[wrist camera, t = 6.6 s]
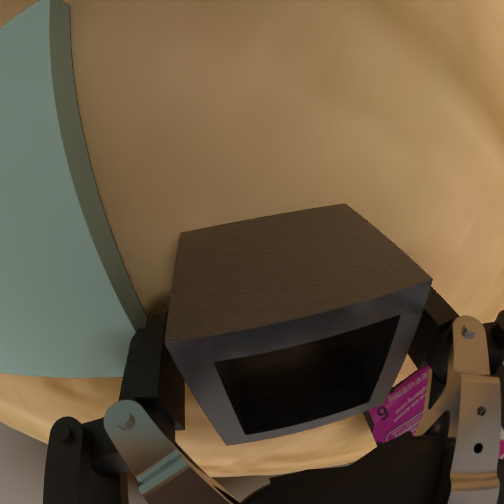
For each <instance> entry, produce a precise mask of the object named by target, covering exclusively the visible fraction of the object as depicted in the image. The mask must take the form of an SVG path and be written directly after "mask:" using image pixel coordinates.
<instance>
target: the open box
mask: <svg viewBox="0 0 504 504" xmlns="http://www.w3.org/2000/svg"><path fill="white" fill-rule="evenodd" d="M432 280H433V279H432V278H431V277H430V276H429V275H428V274H427V273H426V272H425V271H424V270H423V269H422V268H421V267H419V266H418V265H417V264H416V263H415V262H414V261H413V260H412V259H411V258H410V257H409V256H408V255H406V254H405V253H404V252H403V251H402V250H401V249H400V248H399V247H397V246H396V245H395V244H394V243H393V242H392V241H391V240H389V239H388V238H387V237H386V236H385V235H384V234H382V233H381V232H380V231H379V230H378V229H376V228H375V227H374V226H373V225H372V224H370V223H369V222H368V221H367V220H365V219H364V218H363V217H362V216H361V215H359V214H358V213H357V212H356V211H354V210H353V209H352V208H350V207H349V206H348V205H347V204H340V205H334V206H327V207H321V208H315V209H309V210H303V211H297V212H291V213H285V214H279V215H273V216H268V217H262V218H256V219H251V220H245V221H240V222H235V223H229V224H224V225H219V226H214V227H209V228H204V229H199V230H194V231H189V232H184V233H181V236H180V241H179V246H178V252H177V258H176V263H175V269H174V276H173V282H172V288H171V295H170V302H169V310H168V317H167V325H166V333H165V342H164V343H165V345H166V347H167V349H168V351H169V352H170V354H171V356H172V358H173V360H174V362H175V364H176V365H177V367H178V369H179V371H180V373H181V374H182V376H183V378H184V380H185V381H186V383H187V385H188V387H189V388H190V390H191V392H192V393H193V395H194V397H195V398H196V400H197V402H198V403H199V405H200V406H201V408H202V410H203V411H204V413H205V414H206V416H207V417H208V419H209V420H210V422H211V423H212V425H213V426H214V428H215V429H216V431H217V432H218V434H219V435H220V437H221V438H222V440H223V441H224V443H225V444H226V445H234V444H241V443H248V442H254V441H260V440H265V439H270V438H275V437H280V436H284V435H289V434H293V433H297V432H301V431H305V430H309V429H312V428H316V427H319V426H323V425H326V424H329V423H333V422H336V421H339V420H342V419H345V418H348V417H351V416H354V415H356V414H359V413H362V412H364V411H367V410H370V409H372V408H375V407H377V406H380V405H382V404H383V403H384V402H385V400H386V398H387V396H388V394H389V392H390V390H391V388H392V386H393V384H394V382H395V380H396V378H397V375H398V373H399V371H400V369H401V367H402V364H403V362H404V360H405V357H406V355H407V353H408V350H409V348H410V345H411V343H412V340H413V338H414V335H415V332H416V330H417V327H418V324H419V321H420V319H421V316H422V313H423V310H424V307H425V304H426V300H427V297H428V294H429V291H430V287H431V284H432Z"/></svg>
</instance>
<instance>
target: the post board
mask: <svg viewBox="0 0 504 504" xmlns="http://www.w3.org/2000/svg"><path fill="white" fill-rule="evenodd" d="M146 321H147V317H146V314H145V312H144V310H143V308H142V306H141V304H140V302H139V299H138V297H137V295H136V293H135V291H134V288H133V286H132V284H131V281H130V279H129V277H128V274H127V272H126V269H125V267H124V265H123V262H122V260H121V257H120V254H119V252H118V249H117V247H116V244H115V241H114V238H113V236H112V233H111V230H110V227H109V224H108V221H107V219H106V216H105V213H104V209H103V206H102V203H101V200H100V197H99V193H98V190H97V187H96V183H95V180H94V176H93V172H92V169H91V165H90V161H89V157H88V153H87V149H86V144H85V140H84V135H83V130H82V126H81V120H80V115H79V109H78V104H77V97H76V91H75V83H74V75H73V66H72V55H71V41H70V5H69V4H67V3H65V2H64V1H62V0H39V1H38V2H36V3H34V4H33V5H31V6H30V7H28V8H27V9H25V10H24V11H22V12H21V13H19V14H18V15H17V16H15V17H14V18H12V19H11V20H10V21H8V22H7V23H6V24H4V25H3V26H2V27H1V28H0V373H5V374H14V375H25V376H39V377H62V378H102V377H123V375H124V369H125V364H126V363H127V362H126V359H127V355H128V354H129V352H128V350H129V345H130V341H131V339H132V337H133V336H134V334H135V333H136V331H137V330H138V329H141V328H145V326H146Z"/></svg>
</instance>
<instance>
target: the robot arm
mask: <svg viewBox="0 0 504 504" xmlns="http://www.w3.org/2000/svg"><path fill="white" fill-rule="evenodd" d="M167 317H168V310H166V311H160V312H153V313H149V314H148V316H147V321H146V326H145V328H141V329H138V330H137V331H136V333H135V334H134V336H133V337H132V339H131V341H130V345H129V350H128V352H129V354H128V355H127V359H126V362H127V363H126V364H125V369H124V375H123V380H122V385H121V391H120V397H119V401H118V402H116V403H114V404H113V405H112V406H111V407H110V408H109V409H108V410H107V412H106V414H105V416H104V417H103V418H101V419H97V420H94V421H91V422H87V423H83V424H81V423H80V422H79V421H78V420H76V419H75V418H73V417H69V416H68V417H63V418H60V419H59V420H57V421H56V422H55V423H54V425H53V426H52V429H51V432H50V437H49V443H48V451H47V458H46V467H45V477H44V491H43V492H44V494H43V504H129V503H128V483H127V472H129V471H132V472H133V474H134V475H135V477H136V478H137V479H138V482H139V484H138V489H139V491H140V493H141V494H142V496H143V497H144V498H145V500H146V501H147V502H148V503H149V504H504V460H503V459H500V458H498V456H499V446H500V432H501V426H502V428H503V430H504V365H503V362H504V310H502V311H501V312H499V314H498V316H497V318H496V320H495V322H490V323H484V324H481V322H480V321H479V320H477V319H476V318H474V317H471V316H466V315H465V316H459V315H458V314H457V313H456V312H455V311H454V310H453V309H452V308H451V306H450V305H449V304H448V303H447V302H446V301H445V300H444V299H443V298H442V297H441V296H440V295H439V294H438V293H436V291H435V290H434V289H433V288H432V287H430V291H429V294H428V297H427V300H426V304H425V307H424V310H423V313H422V316H421V319H420V321H419V324H418V327H417V330H416V332H415V335H414V338H413V340H412V343H411V345H410V348H409V350H408V355H409V356H410V358H411V359H412V361H413V362H414V364H415V365H416V367H417V368H418V370H419V369H421V368H423V367H425V366H427V365H429V367H430V368H431V369H430V371H429V374H428V382H427V390H426V398H425V405H424V411H423V415H422V418H421V420H420V422H419V424H418V427H417V429H416V432H415V436H413V434H412V432H411V430H410V431H408V432H406V433H404V434H402V435H400V436H398V437H396V438H394V439H392V440H389V441H387V442H385V443H383V444H380V445H379V446H378V447H376V448H375V449H373V450H372V451H371V452H369V453H368V454H366V455H365V456H363V457H362V458H360V459H359V460H357V461H356V462H354V463H353V464H351V465H349V466H345V467H337V468H325V469H308V470H304V471H300V472H296V473H291V474H287V475H282V476H277V477H272V478H270V484H268V485H266V486H263V487H262V488H260V489H258V490H256V491H254V492H253V493H251V494H250V495H248V496H247V497H246V498H245V499H244V500H242V501H241V502H239V501H238V500H237V499H236V498H235V497H233V496H232V495H231V494H230V493H228V492H227V491H226V490H225V489H224V488H223V487H221V486H220V485H219V484H218V483H217V482H216V481H214V480H213V479H212V478H211V477H210V476H209V475H208V474H207V473H205V472H204V471H203V470H202V469H201V468H200V467H199V466H198V465H197V464H196V463H195V462H194V461H193V460H192V459H191V458H190V457H189V456H188V454H187V453H186V452H185V451H184V450H183V449H182V448H181V447H180V446H179V445H178V444H177V443H176V441H175V431H176V430H185V380H184V378H183V376H182V374H181V373H180V371H179V369H178V367H177V365H176V364H175V362H174V360H173V358H172V356H171V354H170V352H169V351H168V349H167V347H166V345H165V343H164V342H165V333H166V325H167Z"/></svg>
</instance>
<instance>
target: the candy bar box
mask: <svg viewBox="0 0 504 504" xmlns="http://www.w3.org/2000/svg"><path fill="white" fill-rule="evenodd" d="M430 369H431V368H430V367H429V365H427V366H425V367H423V368H421V369H420V370H419V371H417V372H416V373H415V374H413V375H412V376H410V377H409V378H408V379H406V380H405V381H404V382H402V383H401V384H399V385H398V386H396V387H395V388H393V389H392V390H390V392H389V394H388V396H387V398H386V400H385V402H384V403H383V404H382V405H380V406H377V407H375V408H372V409H370V410H367V411H364V412H363V413H364V415H365V418H366V420H367V422H368V425H369V427H370V429H371V432H372V435H373V437H374V439H375V442H376V444H377V446H379V445H380V444H383V443H385V442H387V441H389V440H392V439H394V438H396V437H398V436H400V435H402V434H404V433H406V432H408V431H410V430H411V432H412V434H413V436H415V432H416V429H417V427H418V424H419V422H420V420H421V418H422V415H423V411H424V405H425V398H426V390H427V382H428V374H429V371H430ZM498 458H500V459H503V460H504V430H503V428H502V426H501V432H500V446H499V456H498Z"/></svg>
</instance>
